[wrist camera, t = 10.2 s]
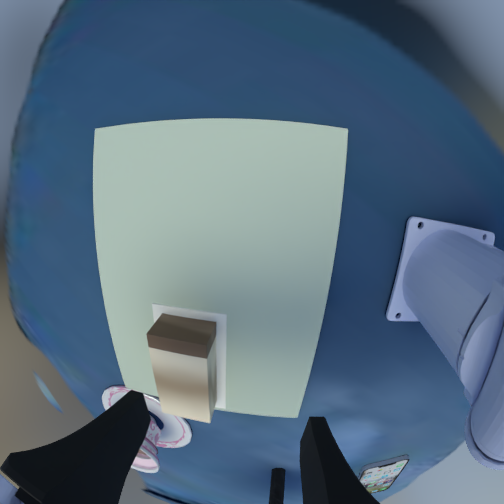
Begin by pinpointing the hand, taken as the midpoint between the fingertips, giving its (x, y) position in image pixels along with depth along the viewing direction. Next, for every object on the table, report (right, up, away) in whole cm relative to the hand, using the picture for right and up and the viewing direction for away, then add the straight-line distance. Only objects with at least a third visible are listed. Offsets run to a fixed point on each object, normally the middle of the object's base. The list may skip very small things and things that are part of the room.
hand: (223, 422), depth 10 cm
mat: (-2, +4, +10) cm, 11 cm away
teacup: (-12, -13, +17) cm, 24 cm away
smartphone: (+21, -29, +18) cm, 40 cm away
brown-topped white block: (-4, -2, +11) cm, 12 cm away
